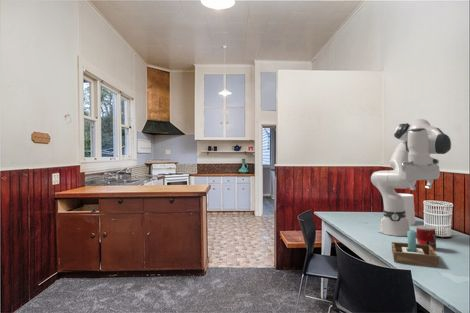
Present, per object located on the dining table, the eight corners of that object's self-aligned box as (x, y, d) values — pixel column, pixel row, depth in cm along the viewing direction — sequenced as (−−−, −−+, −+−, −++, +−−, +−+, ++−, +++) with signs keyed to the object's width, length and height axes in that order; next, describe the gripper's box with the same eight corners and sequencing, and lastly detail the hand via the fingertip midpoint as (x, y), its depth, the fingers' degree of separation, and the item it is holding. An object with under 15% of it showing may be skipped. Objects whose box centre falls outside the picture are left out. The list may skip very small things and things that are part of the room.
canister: (414, 226, 180) (412, 196, 181) (387, 223, 190) (385, 195, 190) (415, 221, 193) (414, 193, 193) (390, 219, 202) (388, 193, 203)
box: (392, 251, 134) (391, 241, 134) (431, 255, 126) (430, 245, 126) (394, 263, 119) (393, 252, 120) (438, 268, 112) (437, 256, 112)
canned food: (430, 252, 131) (429, 229, 131) (414, 247, 138) (412, 226, 138) (440, 249, 134) (438, 227, 134) (423, 245, 141) (422, 224, 142)
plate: (402, 254, 128) (401, 246, 128) (422, 256, 125) (421, 248, 125) (403, 259, 121) (403, 252, 121) (425, 262, 117) (424, 254, 118)
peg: (407, 256, 125) (405, 230, 125) (414, 256, 124) (413, 230, 125) (410, 259, 122) (409, 232, 122) (418, 259, 121) (416, 232, 121)
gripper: (407, 161, 126) (409, 191, 125) (441, 160, 130) (443, 188, 130) (396, 162, 132) (397, 190, 131) (429, 160, 136) (431, 187, 136)
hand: (420, 189), depth 131 cm, fingers open, 8 cm apart
